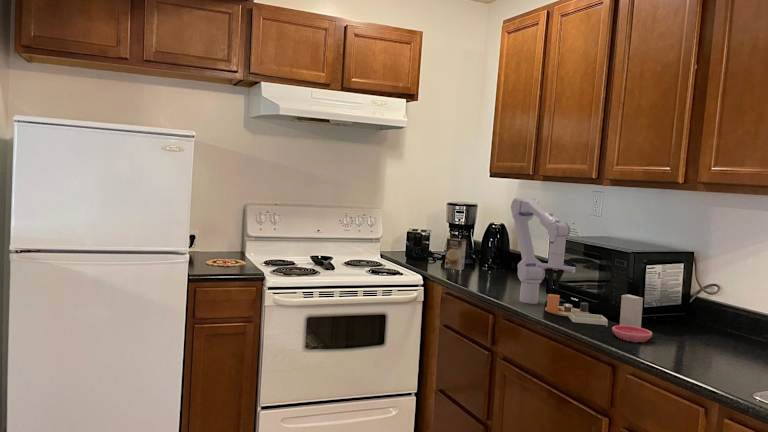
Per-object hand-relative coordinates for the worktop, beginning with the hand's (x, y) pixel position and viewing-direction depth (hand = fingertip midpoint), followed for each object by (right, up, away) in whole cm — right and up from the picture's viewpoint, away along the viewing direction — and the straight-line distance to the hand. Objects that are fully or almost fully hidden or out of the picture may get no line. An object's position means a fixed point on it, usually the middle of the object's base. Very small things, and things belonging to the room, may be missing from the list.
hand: (553, 288), depth 227 cm
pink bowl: (+18, -13, -29) cm, 37 cm away
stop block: (0, -9, +1) cm, 9 cm away
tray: (+9, -11, -12) cm, 19 cm away
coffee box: (-27, -1, +92) cm, 96 cm away
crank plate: (+6, -10, +1) cm, 11 cm away
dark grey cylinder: (+6, -9, +1) cm, 11 cm away
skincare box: (+22, -13, -18) cm, 31 cm away
